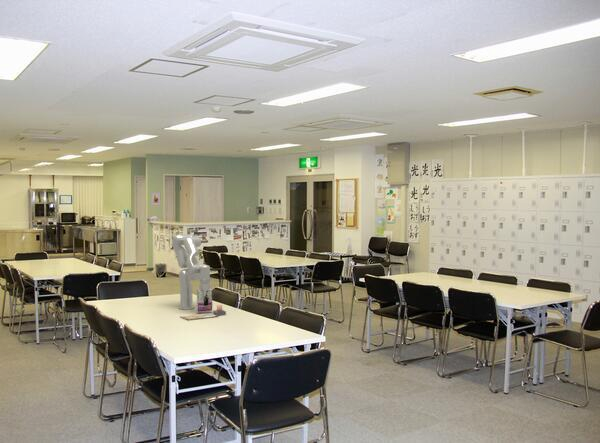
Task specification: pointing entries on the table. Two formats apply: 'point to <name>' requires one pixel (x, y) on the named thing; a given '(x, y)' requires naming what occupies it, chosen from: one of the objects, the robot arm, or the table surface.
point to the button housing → (219, 313)
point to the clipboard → (198, 316)
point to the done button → (219, 308)
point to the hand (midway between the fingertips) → (204, 304)
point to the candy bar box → (201, 302)
